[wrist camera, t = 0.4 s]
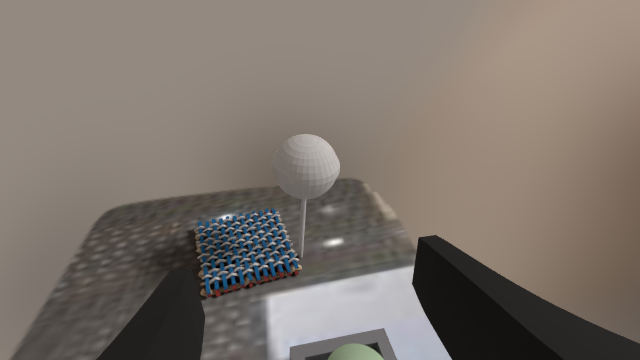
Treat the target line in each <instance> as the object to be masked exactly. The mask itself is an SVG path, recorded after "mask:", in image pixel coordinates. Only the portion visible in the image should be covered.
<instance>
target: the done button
mask: <svg viewBox="0 0 640 360" xmlns="http://www.w3.org/2000/svg"><path fill="white" fill-rule="evenodd" d="M327 360H384V359H383V358H382V356H381V355H380V354H379V353H377V352H376V351H375V350H373V349H372V348H370V347H368V346H365V345H362V344H356V343H351V344H346V345H343V346H341V347H339V348H337V349H336V350H335V351H333V352H332V354H331V355H330V356H329V358H328V359H327Z"/></svg>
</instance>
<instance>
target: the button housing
mask: <svg viewBox="0 0 640 360" xmlns="http://www.w3.org/2000/svg"><path fill="white" fill-rule="evenodd" d="M351 343H356V344H362V345H365V346H368V347H370V348H372V349H373V350H375V351H376V352H377V353H379V354H380V355H381V356H382V358H383V359H384V360H397V359H396V356H395V354H394V351H393V349H392V346H391V344H390V342H389V339H388V337H387V334H386V332H385V330H384V328H382V329H377V330H372V331H367V332H362V333H357V334H352V335H347V336H342V337H337V338H333V339H328V340H323V341H318V342H313V343H308V344H303V345H298V346H293V347H290V360H327V359H328V358H329V356H330V355H331V354H332V352H333V351H335V350H336V349H337V348H339V347H341V346H343V345H346V344H351Z"/></svg>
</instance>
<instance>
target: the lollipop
mask: <svg viewBox="0 0 640 360" xmlns="http://www.w3.org/2000/svg"><path fill="white" fill-rule="evenodd" d="M271 167H272V171H273V174H274V176H275V179H276V181H277V183H278V184H279V186H280V187H281V188H282V189H283V190H284V191H285V192H286V193H288V194H289V195H291V196H293V197H296V198H300V199H302V201H301V220H300V240H299V258H302V257H303V243H304V227H305V211H306V199H312V198H316V197H319V196H320V195H322V194H324V193H325V192H327V191H328V190H329V189H330V188H331V186H332V185H333V183H334V181H335V179H336V178H337V176H338V174H339V171H340V163H339V160H338V158H337V156H336V154H335V153H334V150H333V148H332V147H331V146H330V145H329V144H328V143H327V142H326V141H325V140H323V139H322V138H320V137H318V136H314V135H309V134H302V135H297V136H294V137H291V138H290V139H288V140H286V141H285V142H284V143H283V144H282V145H281V146H280V148H279V149H278V151H277V152H276V153H275V155H274V157H273V158H272V166H271Z"/></svg>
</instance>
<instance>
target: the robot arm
mask: <svg viewBox="0 0 640 360" xmlns="http://www.w3.org/2000/svg"><path fill="white" fill-rule="evenodd" d="M412 285H413V287H414V289H415V292H416V294H417V297H418V299H419V301H420V303H421V306H422V308H423V310H424V312H425V314H426V316H427V318H428V319H429V321H430V323H431V325H432V326H433V328H434V330H435V331H436V333H437V335H438V337H439V338H440V340H441V342H442V343H443V345H444V347H445V348H446V350H447V352H448V353H449V355H450V357H451V359H452V360H640V344H639V343H637V342H634V341H632V340H630V339H627V338H625V337H623V336H620V335H618V334H615V333H613V332H611V331H608V330H606V329H604V328H602V327H599V326H597V325H595V324H593V323H591V322H588V321H586V320H584V319H582V318H580V317H578V316H576V315H574V314H572V313H570V312H568V311H566V310H564V309H561V308H559V307H557V306H555V305H553V304H552V303H549V302H548V301H546V300H544V299H542V298H540V297H538V296H536V295H535V294H533V293H531V292H529V291H527V290H526V289H524V288H522V287H520V286H518V285H517V284H515V283H513V282H512V281H510V280H508V279H506V278H505V277H503V276H501V275H500V274H498V273H496V272H495V271H493V270H491V269H489V268H488V267H487V266H485V265H483V264H482V263H480V262H479V261H477V260H475V259H474V258H472V257H471V256H469V255H467V254H466V253H464V252H463V251H461V250H460V249H458V248H456V247H455V246H453V245H452V244H450V243H448V242H447V241H445V240H444V239H442V238H440V237H438V236H437V235H433V236H426V237H419V239H418V246H417V253H416V260H415V267H414V274H413V281H412ZM204 323H205V314H204V311H203V307H202V303H201V300H200V296H199V293H198V289H197V285H196V282H195V278H194V275H193V271H192V268H190V269H183V270H176V271H170V272H169V273H168V274H167V276H166V277H165V278H164V279H163V281H162V282H161V283H160V284H159V286H158V287H157V288H156V289H155V291H154V292H153V293H152V294H151V296H150V297H149V298H148V299H147V301H146V302H145V303H144V304H143V306H142V307H141V308H140V309H139V311H138V312H137V313H136V314H135V315H134V317H133V318H132V319H131V320H130V321H129V323H128V324H127V325H126V326H125V327H124V329H123V330H122V331H121V332H120V333H119V335H118V336H117V337H116V338H115V339H114V340H113V342H112V343H111V344H110V345H109V346H108V347H107V348H106V349H105V350H104V352H103V353H102V354H101V355H100V356H99V357H98V358H97V359H96V360H200V356H201V351H202V343H203V334H204Z"/></svg>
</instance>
